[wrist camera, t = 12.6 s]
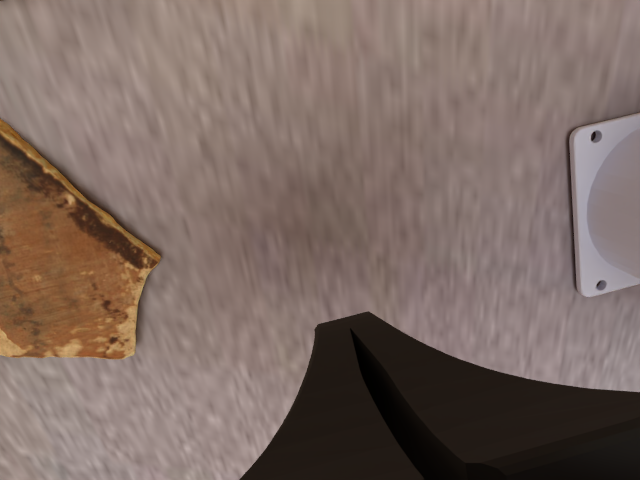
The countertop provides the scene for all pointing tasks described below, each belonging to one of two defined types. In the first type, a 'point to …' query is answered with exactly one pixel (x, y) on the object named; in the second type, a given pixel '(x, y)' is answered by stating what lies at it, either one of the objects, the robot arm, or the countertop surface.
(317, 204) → the countertop surface
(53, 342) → the shard
